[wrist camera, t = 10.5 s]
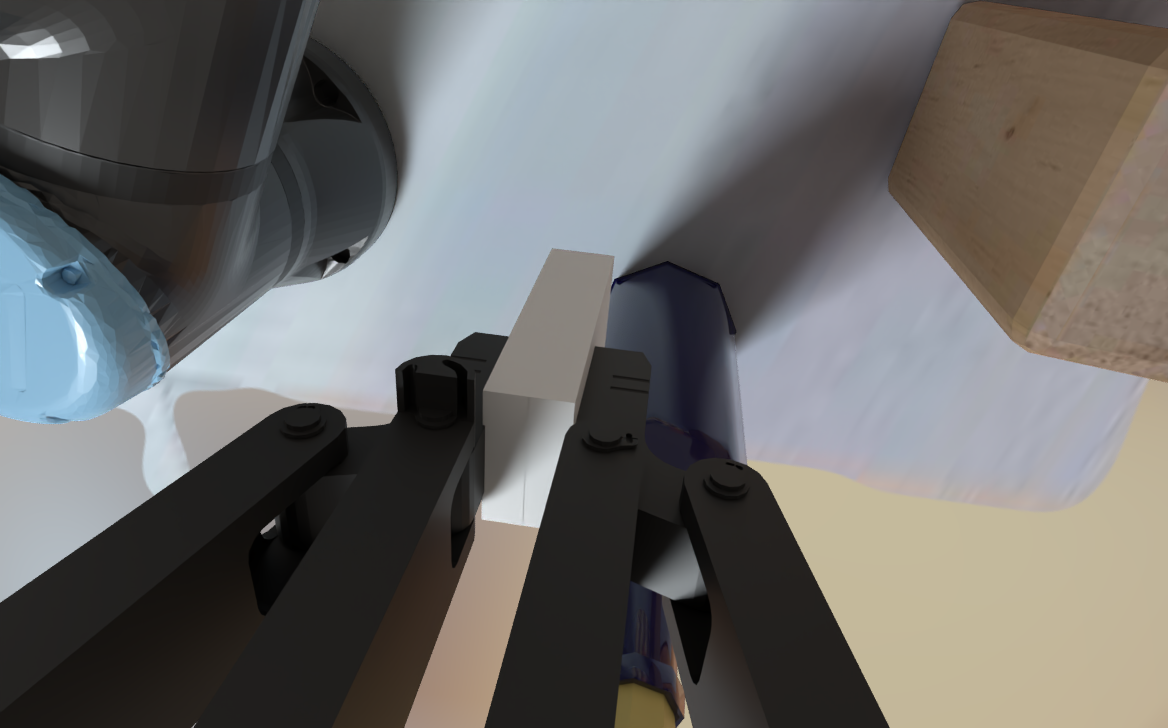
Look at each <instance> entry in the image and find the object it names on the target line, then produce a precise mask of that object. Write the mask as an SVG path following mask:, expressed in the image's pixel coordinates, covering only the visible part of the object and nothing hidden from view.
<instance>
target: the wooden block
mask: <svg viewBox="0 0 1168 728" xmlns="http://www.w3.org/2000/svg"><path fill="white" fill-rule="evenodd" d="M888 188H889V193H890V194H891V195H892V196H893V197H894V199H895V200H896V201H897V202H898V203H899V205H900V206H901V207H902V208H903V209H904V211H905V212H906V213H907V214H908V216H909V217H910V218H911V219H912V220H913V222H914V223H915V224H916V225H917V226H918V228H919V229H920V230H921V231H922V232H923V234H924V235H925V236H926V237H927V239H928V240H929V241H930V242H931V243H932V245H933V246H934V247H935V248H936V249H937V251H938V252H939V253H940V254H941V255H942V257H943V258H944V259H945V260H946V261H947V263H948V264H949V265H950V266H951V268H952V269H953V270H954V271H955V272H956V274H957V275H958V276H959V277H960V278H961V280H962V281H963V282H964V283H965V284H966V286H967V287H968V288H969V289H970V291H971V292H972V293H973V294H974V295H975V297H976V298H977V299H978V300H979V301H980V303H981V304H982V305H983V306H984V307H985V309H986V310H987V311H988V312H989V313H990V315H991V316H992V317H993V318H994V320H995V321H996V322H997V323H998V324H999V326H1000V327H1001V328H1002V329H1003V330H1004V332H1005V333H1006V334H1007V335H1008V336H1009V338H1010V339H1011V340H1012V341H1013V342H1015V343H1016V344H1018V345H1019V346H1020V347H1022V348H1023V349H1024V350H1026V351H1027V352H1030V353H1034V354H1039V355H1043V356H1048V357H1052V358H1057V359H1062V360H1066V361H1071V362H1075V363H1080V364H1084V365H1089V366H1094V367H1098V368H1103V369H1107V370H1112V371H1116V372H1121V373H1126V374H1130V375H1135V376H1139V377H1144V378H1148V379H1153V380H1158V381H1162V382H1167V383H1168V29H1166V28H1160V27H1153V26H1146V25H1140V24H1133V23H1126V22H1120V21H1113V20H1106V19H1100V18H1093V17H1086V16H1080V15H1073V14H1066V13H1059V12H1053V11H1046V10H1039V9H1033V8H1026V7H1019V6H1013V5H1006V4H999V3H993V2H986V1H976V2H972V3H967V4H963V5H962V6H961V7H960V9H959V10H958V11H957V12H956V13H955V15H954V16H953V17H952V18H951V20H950V23H949V25H948V28H947V30H946V33H945V35H944V38H943V40H942V43H941V45H940V48H939V50H938V53H937V56H936V58H935V61H934V63H933V66H932V68H931V71H930V73H929V76H928V78H927V81H926V83H925V86H924V88H923V91H922V94H921V96H920V99H919V101H918V104H917V106H916V109H915V111H914V114H913V116H912V119H911V121H910V124H909V127H908V129H907V132H906V134H905V137H904V139H903V142H902V144H901V147H900V149H899V152H898V154H897V157H896V159H895V162H894V165H893V167H892V170H891V172H890V175H889V177H888Z"/></svg>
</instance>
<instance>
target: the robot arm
mask: <svg viewBox="0 0 1168 728" xmlns="http://www.w3.org/2000/svg"><path fill="white" fill-rule="evenodd" d="M319 1H320V0H0V415H1V416H4V417H8V418H12V419H16V420H20V421H26V422H32V423H41V424H62V423H68V422H70V421H85V420H89V419H92V418H95V417H98V416H100V415H103V414H105V413H106V412H109V411H110V410H112V409H114V408H115V407H117V406H119V405H120V404H122V403H124V402H126V401H127V400H129V399H131V398H132V397H134V396H136V395H137V394H139V393H141V392H143V391H146V390H149V389H150V388H151V387H153V386H155V385H156V384H158V383H159V382H160V380H162V379H163V378H164V377H165V374H166V372H168V371H169V370H170V369H171V368H173V367H174V366H175V365H176V364H178V363H179V362H180V361H181V360H183V359H184V358H185V357H186V356H188V355H189V354H190V353H191V352H193V351H194V350H195V349H196V348H198V347H199V346H200V345H201V344H203V343H204V342H205V341H206V340H208V339H209V338H210V337H211V336H213V335H214V334H215V333H216V332H218V331H219V330H220V329H221V328H223V327H224V326H225V325H226V324H228V323H229V322H230V321H231V320H233V319H234V318H235V317H236V316H238V315H239V314H240V313H241V312H243V311H244V310H245V309H246V308H248V307H249V306H250V305H252V304H253V303H254V302H255V301H257V300H258V299H259V298H260V297H262V296H263V295H264V294H265V293H266V292H268V291H269V290H270V289H272V288H278V287H284V286H290V285H296V284H302V283H308V282H313V281H317V280H321V279H324V278H326V277H329V276H331V275H333V274H335V273H337V272H340V271H341V270H343V269H345V268H346V267H348V266H349V265H350V264H352V263H353V262H354V261H355V260H356V259H358V258H359V257H360V256H361V255H362V254H363V253H364V252H366V251H367V250H368V249H369V248H370V247H371V246H372V245H373V244H374V243H375V241H376V240H377V239H378V238H379V236H380V235H381V233H382V232H383V230H384V228H385V226H386V225H387V223H388V220H389V218H390V216H391V213H392V209H393V206H394V202H395V197H396V190H397V164H396V157H395V151H394V146H393V142H392V139H391V135H390V132H389V130H388V127H387V124H386V122H385V119H384V117H383V115H382V113H381V111H380V109H379V107H378V105H377V103H376V102H375V100H374V98H373V97H372V95H371V94H370V92H369V91H368V89H367V88H366V86H365V85H364V84H363V83H362V81H361V80H360V79H359V78H358V76H357V75H356V74H355V73H354V72H353V71H352V70H351V69H350V68H349V67H348V66H347V65H346V64H345V63H344V62H343V61H342V60H341V59H340V58H339V57H338V56H336V55H335V54H334V53H333V52H331V51H330V50H329V49H327V48H326V47H324V46H323V45H321V44H320V43H318V42H317V41H315V40H313V39H312V38H310V37H309V35H310V31H311V28H312V25H313V21H314V18H315V15H316V11H317V8H318V5H319ZM613 263H614V256H610V255H602V254H594V253H586V252H577V251H569V250H561V249H553V248H552V250H551V252H550V254H549V256H548V258H547V260H546V262H545V264H544V266H543V268H542V270H541V272H540V274H539V276H538V278H537V280H536V282H535V285H534V287H533V289H532V291H531V293H530V295H529V297H528V299H527V301H526V303H525V305H524V307H523V309H522V311H521V313H520V315H519V317H518V319H517V321H516V323H515V326H514V328H513V330H512V332H511V334H510V336H509V337H508V336H501V335H493V334H485V333H478V332H475V333H473V334H471V335H470V336H468V337H466V338H465V339H463V340H462V341H460V342H458V344H457V346H456V347H455V349H454V351H453V352H452V354H451V356H447V355H428V356H421V357H416V358H413V359H411V360H408V361H406V362H403V363H402V364H401V365H400V366H399V367H398V368H396V369H395V374H396V391H397V407H398V412H397V414H396V415H395V417H394V418H393V420H392V422H391V423H390V424H386V425H378V426H367V427H351V428H347V423H346V418H345V416H344V415H343V413H342V412H341V411H340V410H338V409H336V408H334V407H332V406H330V405H324V404H318V403H308V404H307V403H303V404H297V405H294V406H290V407H286V408H283V409H281V410H279V411H277V412H275V413H273V414H271V415H270V416H268V417H266V418H265V419H264V420H262V421H261V422H259V423H258V424H256V425H255V426H254V427H252V428H251V429H249V430H248V431H246V432H245V433H243V434H242V435H241V436H239V437H238V438H236V439H235V440H234V441H232V442H231V443H229V444H228V445H226V446H225V447H223V448H222V449H220V450H219V451H218V452H216V453H215V454H213V455H212V456H210V457H209V458H208V459H206V460H205V461H203V462H202V463H200V464H199V465H198V466H196V467H195V468H193V469H192V470H190V471H189V472H187V473H186V474H185V475H183V476H182V477H180V478H179V479H177V480H176V481H175V482H173V483H172V484H170V485H169V486H167V487H166V488H164V489H163V490H162V491H160V492H159V493H157V494H156V495H154V496H153V497H152V498H150V499H149V500H147V501H146V502H144V503H143V504H141V505H140V506H139V507H137V508H136V509H134V510H133V511H131V512H130V513H129V514H127V515H126V516H124V517H123V518H121V519H120V520H118V521H117V522H116V523H114V524H113V525H111V526H110V527H108V528H107V529H106V530H105V531H103V532H102V533H100V534H98V535H97V536H96V537H94V538H93V539H91V540H90V541H88V542H87V543H86V544H84V545H83V546H81V547H80V548H78V549H77V550H75V551H74V552H73V553H71V554H70V555H68V556H67V557H65V558H64V559H63V560H61V561H60V562H58V563H57V564H55V565H54V566H52V567H51V568H50V569H48V570H47V571H45V572H44V573H42V574H41V575H39V576H38V577H37V578H35V579H34V580H33V581H31V582H29V583H28V584H27V585H25V586H24V587H22V588H21V589H20V590H18V591H16V592H15V593H14V594H13V595H11V596H9V597H8V598H7V599H5V600H4V601H2V602H1V603H0V728H191V727H192V726H193V725H194V724H195V723H196V722H197V723H196V725H195V726H194V728H404V726H405V724H406V721H407V718H408V716H409V713H410V710H411V708H412V705H413V702H414V699H415V697H416V694H417V691H418V689H419V686H420V684H421V681H422V678H423V676H424V673H425V670H426V668H427V665H428V662H429V660H430V657H431V654H432V651H433V649H434V646H435V643H436V641H437V638H438V635H439V633H440V630H441V627H442V625H443V622H444V619H445V617H446V614H447V611H448V609H449V606H450V603H451V601H452V598H453V595H454V593H455V590H456V587H457V584H458V582H459V579H460V576H461V574H462V571H463V568H464V565H465V563H466V560H467V558H468V555H469V552H470V550H471V547H472V544H473V541H474V536H475V515H476V512H477V509H478V507H479V504H480V502H481V499H482V519H483V520H489V521H496V522H503V523H509V524H516V525H523V526H529V527H536V528H539V532H538V535H537V539H536V542H535V546H534V550H533V553H532V557H531V560H530V564H529V568H528V572H527V575H526V579H525V583H524V586H523V589H522V593H521V597H520V601H519V604H518V608H517V611H516V615H515V619H514V622H513V626H512V629H511V633H510V637H509V641H508V644H507V648H506V651H505V655H504V658H503V662H502V666H501V669H500V673H499V678H498V680H497V684H496V688H495V692H494V695H493V698H492V702H491V706H490V709H489V713H488V717H487V720H486V724H485V728H615V719H616V709H617V700H618V691H619V681H620V672H621V662H622V653H623V643H624V634H625V625H626V615H627V606H628V596H629V587H630V581H632V582H634V583H636V584H639V585H641V586H643V587H646V588H648V589H650V590H652V591H655V592H657V593H659V594H661V595H662V606H663V610H664V614H665V618H666V622H667V626H668V630H669V634H670V638H671V642H672V646H673V650H674V654H675V658H676V662H677V666H678V670H679V674H680V678H681V682H682V686H683V690H684V694H685V698H686V702H687V706H688V710H689V714H690V718H691V722H692V726H693V728H889V725H888V723H887V721H886V720H885V717H884V715H883V713H882V711H881V709H880V708H879V706H878V703H877V701H876V699H875V697H874V695H873V693H872V691H871V689H870V687H869V685H868V683H867V681H866V679H865V677H864V675H863V674H862V672H861V669H860V668H859V665H858V663H857V662H856V659H855V658H854V655H853V654H852V651H851V649H850V647H849V646H848V643H847V641H846V640H845V637H844V636H843V634H842V631H841V629H840V627H839V625H838V623H837V621H836V619H835V618H834V616H833V613H832V612H831V609H830V608H829V605H828V603H827V602H826V599H825V597H824V596H823V593H822V591H821V589H820V588H819V585H818V584H817V581H816V580H815V577H814V576H813V573H812V572H811V570H810V568H809V565H808V563H807V562H806V559H805V558H804V555H803V553H802V552H801V549H800V547H799V546H798V544H797V541H796V540H795V538H794V535H793V533H792V531H791V529H790V527H789V525H788V523H787V521H786V519H785V518H784V515H783V514H782V511H781V509H780V508H779V505H778V504H777V501H776V499H775V498H774V495H773V493H772V491H771V490H770V488H769V486H768V484H767V482H766V481H765V480H764V479H763V477H762V476H761V475H760V474H759V473H758V472H757V471H755V470H753V469H752V468H750V467H749V466H747V465H745V464H742V463H740V462H737V461H734V460H731V459H722V458H709V459H702V460H699V461H697V462H695V463H693V464H691V465H690V466H689V467H688V469H687V470H686V471H684V470H681V469H679V468H676V467H674V466H672V465H669V464H667V463H665V462H663V461H662V460H660V459H659V458H658V457H656V456H655V455H654V454H653V453H652V452H651V451H650V450H649V448H648V446H647V444H646V442H645V426H646V416H647V406H648V397H649V387H650V378H651V368H652V366H651V364H650V363H649V361H648V360H647V358H646V356H645V355H644V353H643V352H636V351H628V350H621V349H613V348H606V347H605V340H606V331H607V321H608V312H609V302H610V292H611V283H612V273H613ZM273 519H275V523H276V525H274V526H273V527H272V528H271V529H270V530H269V531H268V532H266V533H264V534H261V533H260V532H261V530H262V529H263V528H264V527H265V526H266V525H268V524H269V523H270V522H271V521H272V520H273Z"/></svg>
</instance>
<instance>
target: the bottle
mask: <svg viewBox="0 0 1168 728" xmlns="http://www.w3.org/2000/svg"><path fill="white" fill-rule="evenodd" d="M735 334H736V329H735V326H734V323H733V321H732V318H731V315H730V312H729V309H728V307H727V304H726V301H725V298H724V296H723V293H722V290H721V287H720V284H719V283H716V282H714V281H712V280H709V279H707V278H705V277H703V276H700V275H698V274H696V273H693V272H691V271H689V270H686V269H684V268H682V267H680V266H677V265H675V264H673V263H670V262H668V261H667V262H664V263H661V264H658V265H655V266H652V267H649V268H646V269H643V270H640V271H638V272H635V273H632V274H629V275H626V276H623V277H620V278H617V279H615V280H614V282H613V284H612V286H611V292H610V302H609V312H608V321H607V331H606V340H605V347H606V348H613V349H621V350H628V351H636V352H643V353H644V355H645V356H646V358H647V360H648V361H649V363H650V364H651V366H652V368H651V378H650V387H649V397H648V406H647V416H646V426H645V442H646V444H647V446H648V448H649V450H650V451H651V452H652V453H653V454H654V455H655V456H656V457H658V458H659V459H660V460H662V461H663V462H665V463H667V464H669V465H672V466H674V467H676V468H679V469H681V470H684V471H686V470H687V469H688V467H689V466H690V465H691V464H693V463H695V462H697V461H699V460H702V459H709V458H722V459H731V460H734V461H737V462H740V463H742V464H745V465H747V457H746V447H745V436H744V426H743V416H742V406H741V396H740V385H739V375H738V365H737V355H736V345H735ZM684 709H685V694H684V690H683V687H682V685H681V683H680V681H679V679H678V677H677V662H676V658H675V654H674V650H673V646H672V642H671V638H670V634H669V630H668V626H667V622H666V618H665V614H664V610H663V606H662V595H661V594H659V593H657V592H655V591H652V590H650V589H648V588H646V587H643V586H641V585H639V584H636V583H634V582H632V581H630V587H629V596H628V606H627V615H626V625H625V634H624V643H623V653H622V662H621V672H620V681H619V691H618V700H617V709H616V719H615V728H677V726H678V725H679V724H680V723H681V721H682V720H683V719H684Z"/></svg>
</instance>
